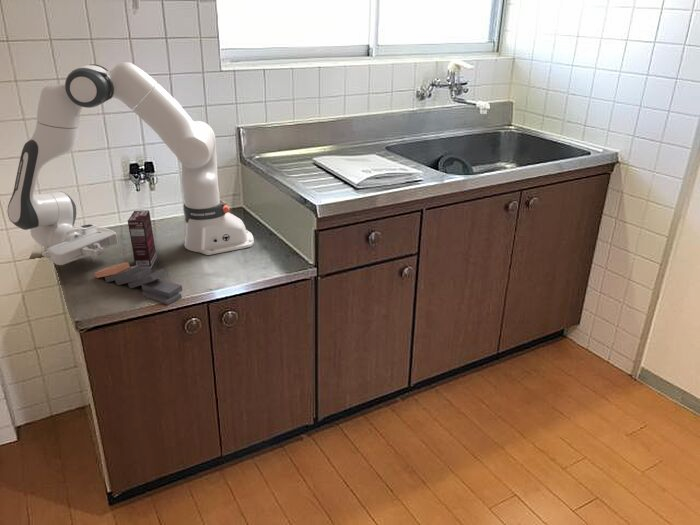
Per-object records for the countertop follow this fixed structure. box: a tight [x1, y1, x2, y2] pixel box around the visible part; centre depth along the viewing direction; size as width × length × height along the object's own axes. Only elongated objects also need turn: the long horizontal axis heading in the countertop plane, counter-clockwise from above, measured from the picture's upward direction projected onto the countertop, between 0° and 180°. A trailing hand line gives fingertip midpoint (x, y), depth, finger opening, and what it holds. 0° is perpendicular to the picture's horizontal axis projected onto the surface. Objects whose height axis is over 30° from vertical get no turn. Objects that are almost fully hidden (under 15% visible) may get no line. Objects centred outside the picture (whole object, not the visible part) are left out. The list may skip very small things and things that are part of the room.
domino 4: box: [127, 268, 166, 289], centre depth 167 cm, size 2×5×10 cm
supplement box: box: [127, 209, 158, 270], centre depth 179 cm, size 9×5×16 cm, turn 5°
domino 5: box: [141, 278, 183, 298], centre depth 165 cm, size 2×5×10 cm
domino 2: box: [104, 265, 142, 283], centre depth 170 cm, size 2×5×10 cm
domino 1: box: [93, 261, 131, 279], centre depth 172 cm, size 2×5×10 cm
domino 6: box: [142, 291, 183, 306], centre depth 164 cm, size 2×5×10 cm
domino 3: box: [114, 268, 153, 286], centre depth 169 cm, size 2×5×10 cm
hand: (100, 252), depth 173 cm, fingers closed
